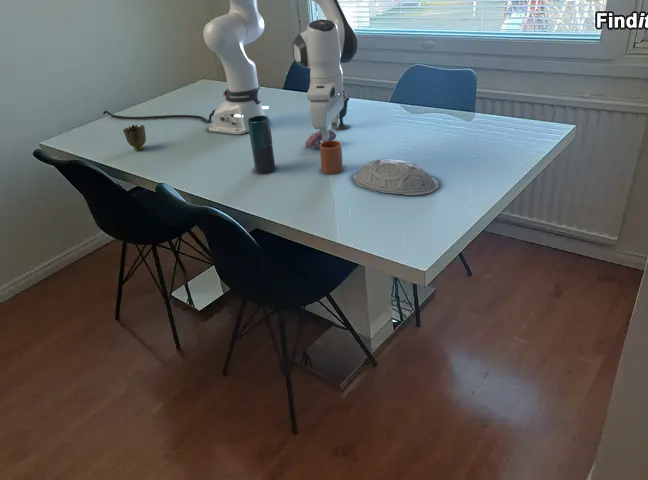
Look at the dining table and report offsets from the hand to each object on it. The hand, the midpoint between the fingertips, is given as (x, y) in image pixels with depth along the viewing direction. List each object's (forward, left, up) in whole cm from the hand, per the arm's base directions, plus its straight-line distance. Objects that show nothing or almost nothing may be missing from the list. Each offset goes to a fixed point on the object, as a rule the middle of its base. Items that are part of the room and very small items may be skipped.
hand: (330, 133), depth 158 cm
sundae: (-7, +36, -11) cm, 38 cm away
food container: (+20, -6, -11) cm, 24 cm away
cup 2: (-75, +10, -11) cm, 77 cm away
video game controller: (-9, +18, -11) cm, 23 cm away
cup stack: (-21, -2, -11) cm, 24 cm away
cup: (0, 0, -11) cm, 11 cm away
